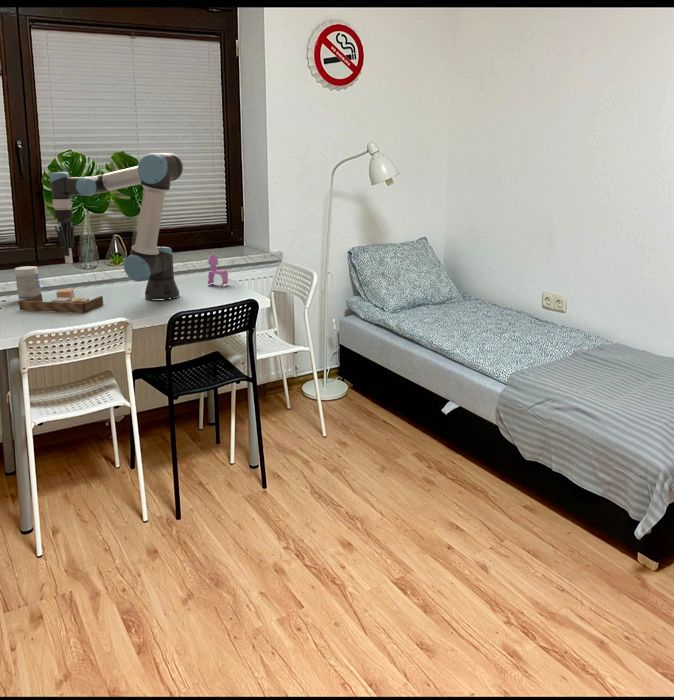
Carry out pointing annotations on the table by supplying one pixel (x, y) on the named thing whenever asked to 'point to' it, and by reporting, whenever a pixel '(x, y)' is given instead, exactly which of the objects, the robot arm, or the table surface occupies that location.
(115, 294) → the table surface
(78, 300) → the oak tile
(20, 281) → the supplement tub
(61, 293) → the terracotta tile
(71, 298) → the grey tile
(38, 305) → the frame
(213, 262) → the toy chair
